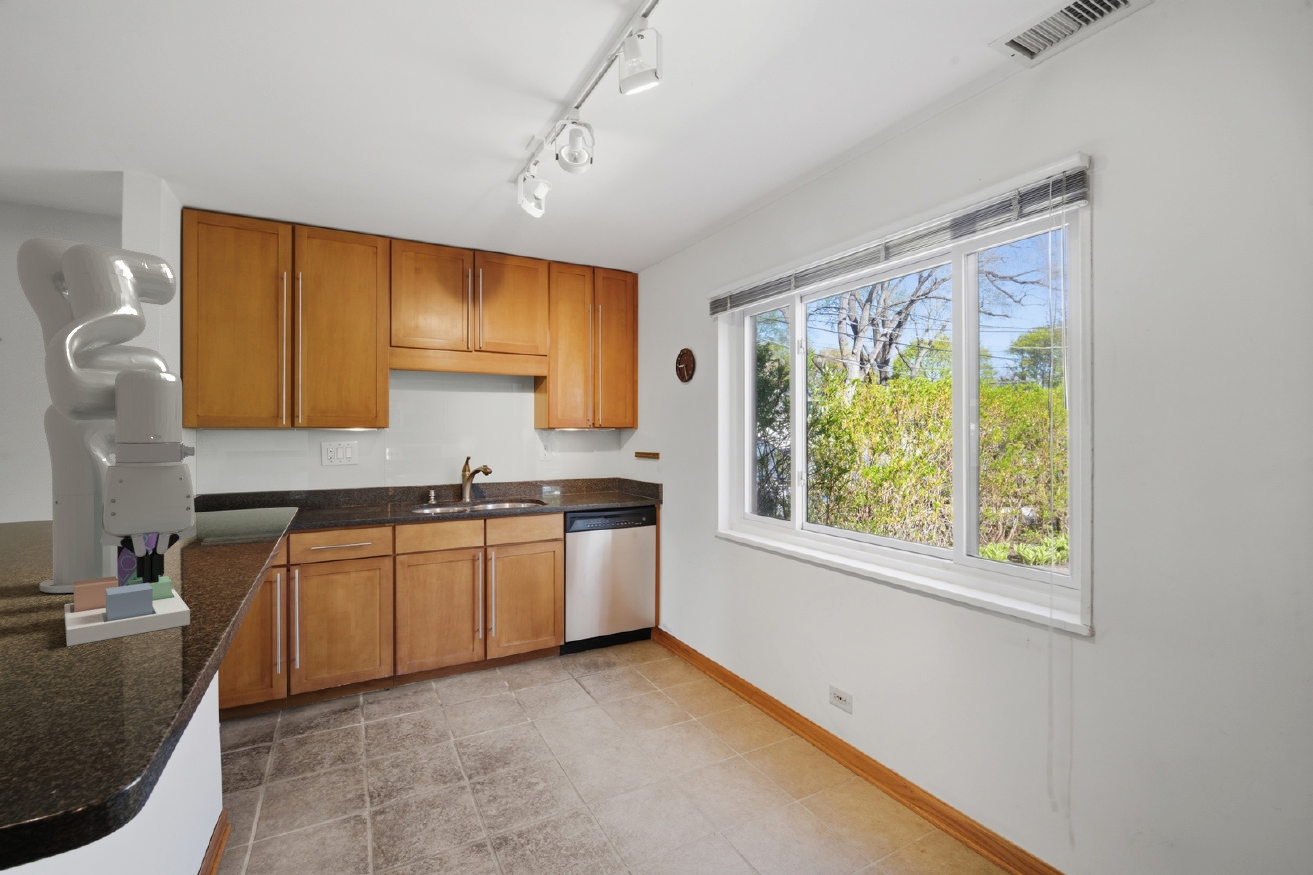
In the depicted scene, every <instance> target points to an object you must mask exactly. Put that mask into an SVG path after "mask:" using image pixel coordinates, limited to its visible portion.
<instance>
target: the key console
mask: <svg viewBox="0 0 1313 875" xmlns="http://www.w3.org/2000/svg"><path fill="white" fill-rule="evenodd" d="M152 602H153V614H151V615H145V616H139V617H133V618H127V619H121V620H115V621H107V617H106V608H101V609H95V610H88V611H81V612H74V602H71V603H65V604H64V625H65V626H64V629H65V638H66V640H65V641H66V647H71V646H77V645H81V644H88V643H92V642H93V643H94V642H99V641H104V640H105V641H106V640H110V639H115V638H117V639H118V638H121V637H128V636H132V635H139V634H143V633H145V634H146V633H149V632H156V631H160V630H166V629H167V630H168V629H172V628H178V627H183V626H189V625H190V624H191V609H190V608H189V606H188V605H187V604H186V602H185V601H184V600H183V599H182V597H181V596H180V595H179V594H178V592H177V590H175V588H172V598H167V599H161V600H154V601H152Z"/></svg>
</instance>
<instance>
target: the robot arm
mask: <svg viewBox="0 0 1313 875" xmlns="http://www.w3.org/2000/svg"><path fill="white" fill-rule="evenodd" d="M16 265H17V266H16V269H17V276H18V281H19V284H20V287H21V290H22V291H23V295H24V296H25V298H26V300H27V301H28V303H29V305H30V306H31V308H32V310H33V311H34V313H35V315H36V317H37V319H38V321H39V322H40V326H41V331H42V332H41V333H42V339H43V344H44V350H45V351H44V352H45V357H44V373H45V377H46V382H47V388H48V391H49V396H50V400H51V402H52V403H51V404H50V405H49V406H48V407H47V408H46V410H45V411H44V414H43V427H44V432H45V437H46V441H47V446H48V450H49V456H50V465H51V486H52V487H51V488H52V489H51V490H52V491H51V492H52V493H51V494H52V503H51V504H52V507H51V508H52V577H50V578H48V579H45V580H43V581H42V582H40V583H39V591H41V592H42V593H48V594H68V593H69V594H70V593H74V581H80V580H88V579H96V578H104V577H112V576H116V577H117V546H123V547H124V548H126V549H128V550H129V551H131V552H132V553H134V554H135V555H136V574H137V578H140V577H142V581H143V582H144V583H149V582H151V581H152V582H159V575H163V576H164V574H165V554H166V553H167V551H168V550H169V549H171V547H172V546H174V544H176V543H177V542H178V541H182V540H185V539H189V538H193V537H195V536H196V535H197V530H196V527H195V520H196V518H195V517H196V516H195V514H196V513H195V497H194V488H193V482H192V475H191V471H190V468H189V465H188V464H189V463H183V461H184V459H185V458H187V457H189V456H191V457H192V456H194V457H195V454H196V452H195V451H196V450H195V447H194V446H188V445H184V442H183V382H182V378H181V377H180V376H179V375H178V374H177V373H175V372H172V371H170V368H169V365H168V363H167V360H166V359H165V358H164V357H163V355H162V354H161V353H159V352H158V351H156V350H154V349H152V348H148V347H143V346H142V347H141V346H135V345H134V346H132V345H124V343H127V342H130V341H132V340H135V339H136V338H137V337H139V336H140V335H141V334H142V333H143V332H144V331H145V329H146V325H147V324H146V323H147V322H146V317H145V315H144V311H143V307H142V305H141V303H142V304H143V303H144V304H151V305H158V306H163V305H167V304H169V303H170V302H172V300H173V299H174V297H175V295H176V292H177V278H176V275H175V272H174V270H173V268H172V266H171V265H170V263H169V262H168V261H166V259H164V258H163V257H160V256H157V255H153V254H149V253H143V252H139V251H134V250H129V249H125V248H121V247H120V248H119V247H114V246H108V245H103V244H96V243H86V242H82V241H76V240H71V239H70V240H69V239H63V238H55V237H36V238H35V237H33V238H30V239H27V240H25V241H24V242H23V243H22V244H21V245H20V246H19V248H18V251H17V255H16ZM110 455H114V460H113V459H112V458H111V457H110ZM155 533H157V536H156V541H155V547H154V548H153V549H152V552H151V554H150V555H149V554H148V550H147V549H146V548H145V544H144V539H143V535H144V534H155ZM119 536H130V537H131V539H130V538H128V537H119Z"/></svg>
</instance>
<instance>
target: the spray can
mask: <svg viewBox="0 0 1313 875" xmlns="http://www.w3.org/2000/svg"><path fill="white" fill-rule="evenodd" d="M156 536H157V533H155V534H144V535H143V539H144V544H145V548H146V549H147V550H148V554H149V555H150V554H151V552H152V549H153V548H154V547H155V541H156ZM119 537H128V538H130V539H131V537H130V536H119ZM163 576H164V574H163V575H159V577H163ZM140 579H142V577H140V578H137V574H136V555H135V554H134V553H132V552H131V551H129V550H128V549H126V548H124V547H123V546H117V580H118V587H121V586H128V585H129V581H132V580H140Z"/></svg>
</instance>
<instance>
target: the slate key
mask: <svg viewBox="0 0 1313 875" xmlns="http://www.w3.org/2000/svg"><path fill="white" fill-rule="evenodd" d="M151 614H153V602H152V587H151V586H150V584H149V583H143V584H136V585H128V586H121V587H113V588H106V617H107V621H115V620H121V619H127V618H133V617H139V616H145V615H151Z"/></svg>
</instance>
